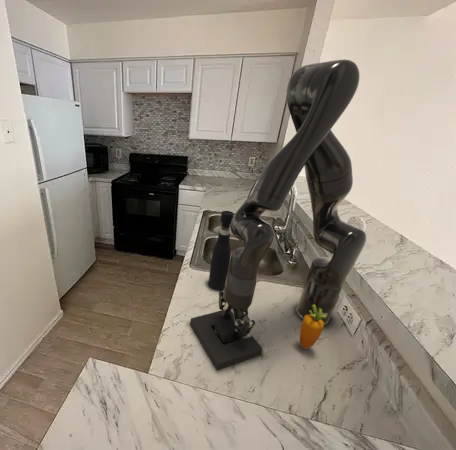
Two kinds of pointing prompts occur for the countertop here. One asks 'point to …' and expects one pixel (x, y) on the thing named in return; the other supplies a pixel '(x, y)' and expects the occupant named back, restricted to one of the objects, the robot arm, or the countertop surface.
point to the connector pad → (225, 329)
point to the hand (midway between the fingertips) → (230, 331)
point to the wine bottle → (221, 254)
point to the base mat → (215, 348)
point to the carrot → (311, 328)
